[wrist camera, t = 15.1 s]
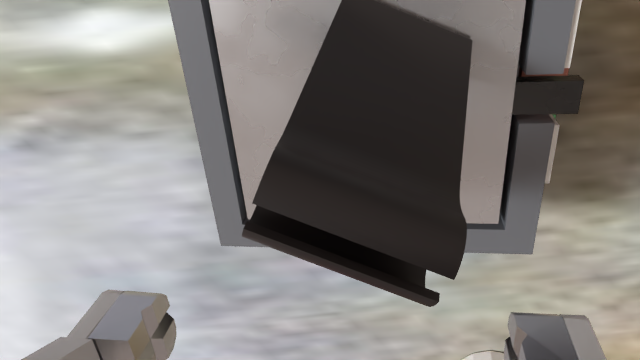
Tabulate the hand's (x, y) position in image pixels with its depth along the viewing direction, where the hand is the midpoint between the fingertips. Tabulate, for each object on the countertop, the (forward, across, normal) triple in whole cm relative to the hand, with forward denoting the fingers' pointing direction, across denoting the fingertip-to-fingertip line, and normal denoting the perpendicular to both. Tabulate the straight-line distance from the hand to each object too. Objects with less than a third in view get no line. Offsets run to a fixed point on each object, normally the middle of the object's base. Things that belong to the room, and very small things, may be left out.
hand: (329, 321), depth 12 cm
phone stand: (+15, 0, 0) cm, 15 cm away
